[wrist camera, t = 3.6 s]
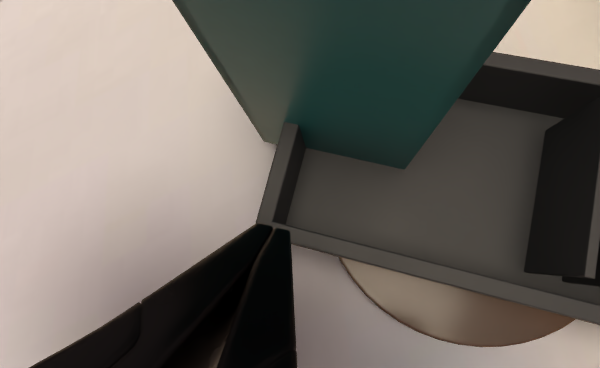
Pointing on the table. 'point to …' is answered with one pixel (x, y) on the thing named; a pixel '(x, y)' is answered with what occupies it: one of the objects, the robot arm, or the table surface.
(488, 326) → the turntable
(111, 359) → the robot arm
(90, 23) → the table surface
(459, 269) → the dish rack
